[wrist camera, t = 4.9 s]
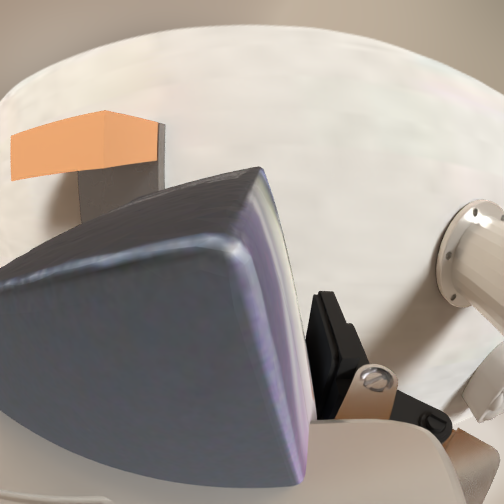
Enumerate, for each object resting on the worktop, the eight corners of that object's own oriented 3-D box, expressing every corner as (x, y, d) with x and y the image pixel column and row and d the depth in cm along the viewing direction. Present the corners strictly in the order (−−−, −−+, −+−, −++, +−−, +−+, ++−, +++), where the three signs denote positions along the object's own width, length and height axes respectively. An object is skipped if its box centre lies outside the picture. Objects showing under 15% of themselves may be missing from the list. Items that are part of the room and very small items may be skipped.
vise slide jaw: (157, 122, 18) (104, 110, 11) (157, 160, 19) (103, 168, 12) (75, 133, 18) (10, 135, 11) (75, 167, 19) (11, 181, 12)
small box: (307, 360, 14) (328, 544, 4) (197, 373, 15) (152, 534, 5) (270, 160, 11) (298, 223, 1) (130, 197, 12) (-75, 310, 2)
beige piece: (456, 400, 33) (474, 433, 25) (488, 345, 28) (516, 378, 20) (488, 388, 33) (507, 415, 25) (518, 335, 28) (543, 362, 20)
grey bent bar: (165, 124, 20) (107, 110, 11) (173, 316, 26) (142, 384, 17) (86, 134, 20) (13, 135, 11) (105, 308, 26) (60, 363, 17)
